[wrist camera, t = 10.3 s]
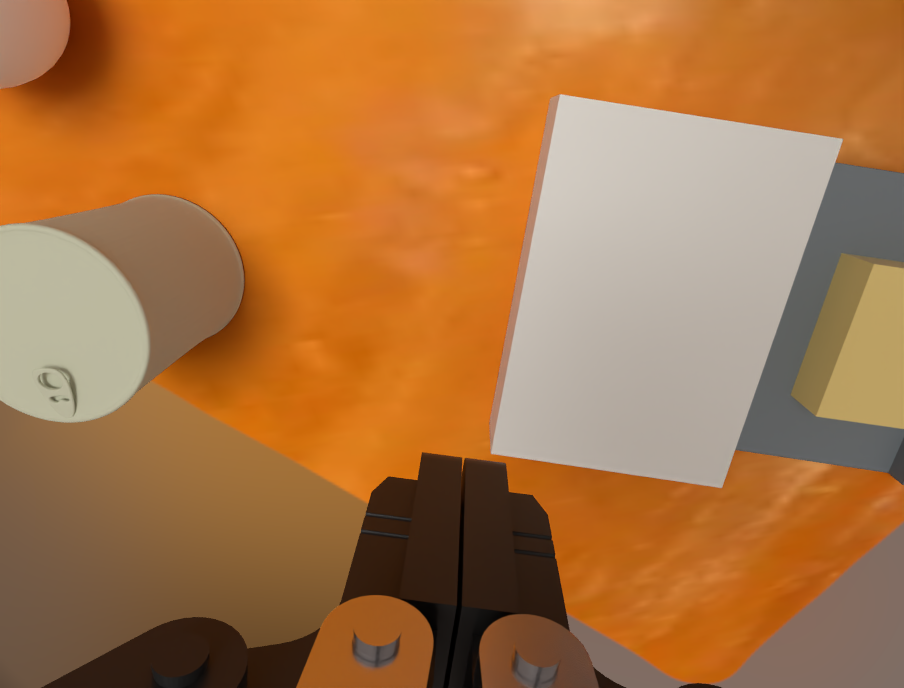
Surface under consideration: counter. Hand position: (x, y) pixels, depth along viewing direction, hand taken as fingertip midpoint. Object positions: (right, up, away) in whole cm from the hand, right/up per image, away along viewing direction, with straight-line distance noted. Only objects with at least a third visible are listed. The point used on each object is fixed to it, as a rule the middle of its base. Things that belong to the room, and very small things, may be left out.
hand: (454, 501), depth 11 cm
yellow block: (+25, +3, +24) cm, 34 cm away
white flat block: (+11, +6, +26) cm, 28 cm away
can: (-17, +7, +26) cm, 32 cm away
